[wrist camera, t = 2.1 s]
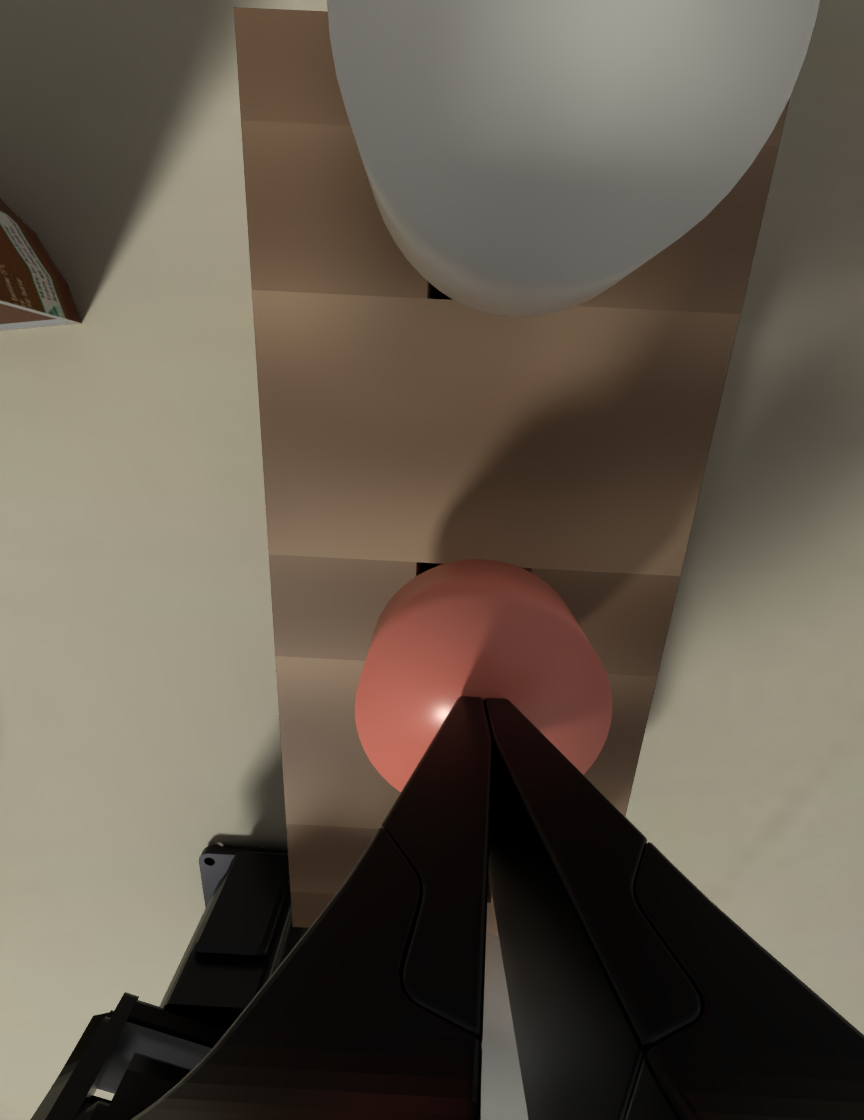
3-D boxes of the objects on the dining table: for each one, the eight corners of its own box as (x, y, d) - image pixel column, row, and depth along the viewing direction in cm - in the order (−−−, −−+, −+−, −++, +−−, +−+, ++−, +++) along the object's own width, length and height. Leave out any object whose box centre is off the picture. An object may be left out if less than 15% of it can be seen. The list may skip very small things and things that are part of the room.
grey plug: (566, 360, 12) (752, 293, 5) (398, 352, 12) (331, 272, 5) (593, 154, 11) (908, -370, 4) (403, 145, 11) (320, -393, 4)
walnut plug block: (554, 798, 21) (596, 944, 15) (333, 786, 21) (292, 926, 15) (655, 186, 14) (804, 33, 8) (319, 170, 14) (234, 7, 8)
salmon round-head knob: (523, 632, 16) (590, 823, 9) (395, 625, 16) (355, 809, 9) (538, 506, 15) (634, 606, 7) (398, 498, 15) (354, 591, 7)
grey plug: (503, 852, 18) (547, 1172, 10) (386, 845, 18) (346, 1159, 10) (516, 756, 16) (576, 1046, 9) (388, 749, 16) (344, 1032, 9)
